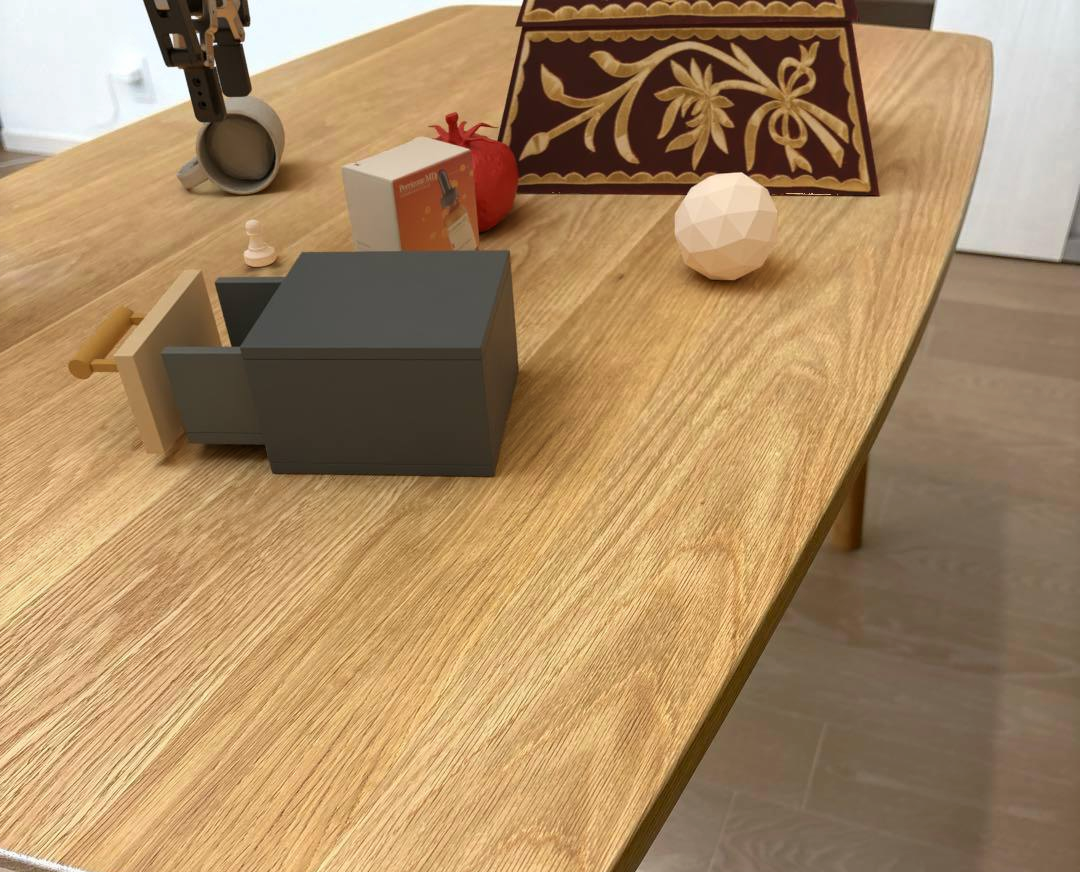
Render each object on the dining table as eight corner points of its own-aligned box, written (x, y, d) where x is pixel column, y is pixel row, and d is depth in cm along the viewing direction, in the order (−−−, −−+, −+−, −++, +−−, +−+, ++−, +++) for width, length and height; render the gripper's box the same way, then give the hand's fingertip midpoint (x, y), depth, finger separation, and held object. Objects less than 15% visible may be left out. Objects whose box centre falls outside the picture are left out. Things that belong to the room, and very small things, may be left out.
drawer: (77, 453, 66) (38, 355, 62) (148, 360, 75) (118, 269, 70) (345, 456, 64) (324, 356, 60) (385, 361, 73) (370, 268, 68)
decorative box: (864, 122, 107) (895, -111, 95) (879, 196, 93) (918, -69, 80) (522, 123, 113) (508, -97, 100) (485, 192, 98) (464, -55, 86)
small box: (409, 322, 79) (389, 181, 72) (361, 301, 82) (337, 165, 75) (486, 283, 83) (473, 147, 77) (437, 265, 86) (421, 133, 80)
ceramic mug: (293, 161, 108) (276, 81, 103) (288, 190, 101) (269, 107, 96) (187, 173, 107) (165, 93, 102) (175, 203, 101) (151, 120, 96)
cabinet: (271, 473, 65) (238, 347, 59) (325, 368, 74) (301, 251, 69) (494, 477, 63) (481, 347, 58) (519, 369, 73) (509, 249, 67)
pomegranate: (533, 200, 96) (526, 93, 90) (505, 246, 89) (496, 132, 83) (428, 196, 98) (415, 91, 92) (392, 241, 91) (376, 129, 85)
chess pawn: (253, 270, 88) (243, 229, 85) (240, 260, 89) (230, 220, 87) (281, 261, 89) (272, 220, 87) (268, 251, 90) (259, 211, 88)
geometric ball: (715, 318, 83) (673, 260, 76) (687, 245, 87) (645, 184, 80) (806, 269, 80) (771, 205, 74) (773, 196, 84) (737, 130, 78)
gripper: (152, -166, 77) (210, 81, 87) (62, -138, 66) (142, 141, 76) (252, -171, 76) (299, 79, 86) (179, -144, 65) (243, 139, 75)
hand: (225, 107), depth 81 cm, fingers open, 5 cm apart
